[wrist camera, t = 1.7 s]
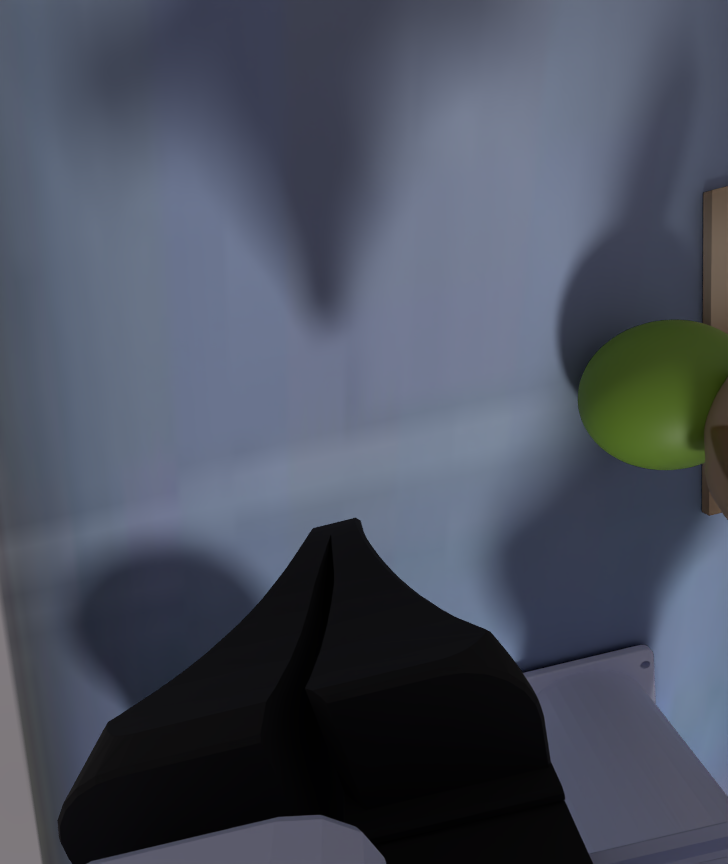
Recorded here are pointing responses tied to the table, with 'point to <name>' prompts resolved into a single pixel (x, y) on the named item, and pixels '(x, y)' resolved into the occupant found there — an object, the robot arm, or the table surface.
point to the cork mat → (714, 285)
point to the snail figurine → (662, 399)
